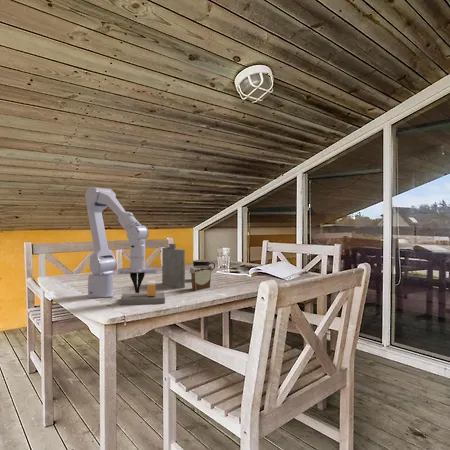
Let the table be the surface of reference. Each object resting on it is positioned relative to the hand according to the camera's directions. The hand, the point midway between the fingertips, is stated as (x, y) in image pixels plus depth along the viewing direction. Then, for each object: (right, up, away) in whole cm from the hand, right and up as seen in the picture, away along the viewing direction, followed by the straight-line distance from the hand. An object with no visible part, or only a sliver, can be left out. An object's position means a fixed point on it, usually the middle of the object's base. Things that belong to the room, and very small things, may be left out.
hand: (137, 292), depth 134 cm
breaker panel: (+2, -3, 0) cm, 4 cm away
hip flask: (+9, -3, +32) cm, 33 cm away
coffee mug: (+23, -3, +48) cm, 53 cm away
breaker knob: (+5, -1, +1) cm, 5 cm away
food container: (+21, -3, +25) cm, 33 cm away
